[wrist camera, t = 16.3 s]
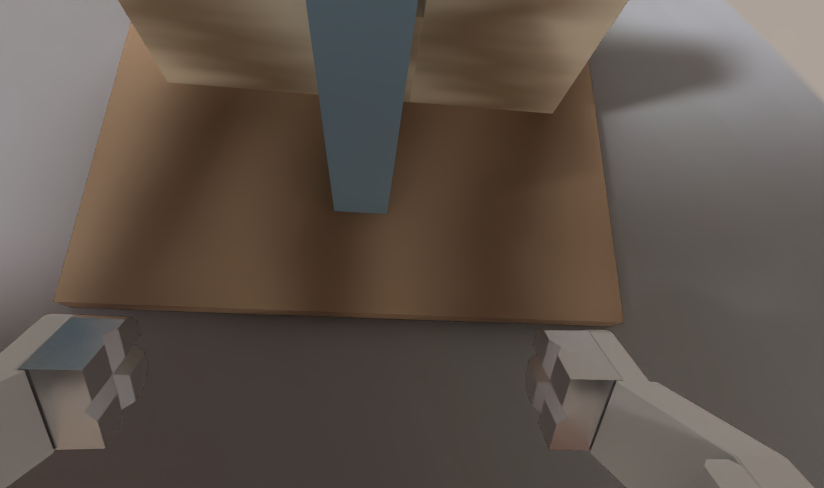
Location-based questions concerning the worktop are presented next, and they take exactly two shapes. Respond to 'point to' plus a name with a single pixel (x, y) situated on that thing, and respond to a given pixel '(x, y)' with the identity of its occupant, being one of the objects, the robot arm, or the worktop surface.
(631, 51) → the worktop surface
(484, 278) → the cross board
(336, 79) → the slotted plate
